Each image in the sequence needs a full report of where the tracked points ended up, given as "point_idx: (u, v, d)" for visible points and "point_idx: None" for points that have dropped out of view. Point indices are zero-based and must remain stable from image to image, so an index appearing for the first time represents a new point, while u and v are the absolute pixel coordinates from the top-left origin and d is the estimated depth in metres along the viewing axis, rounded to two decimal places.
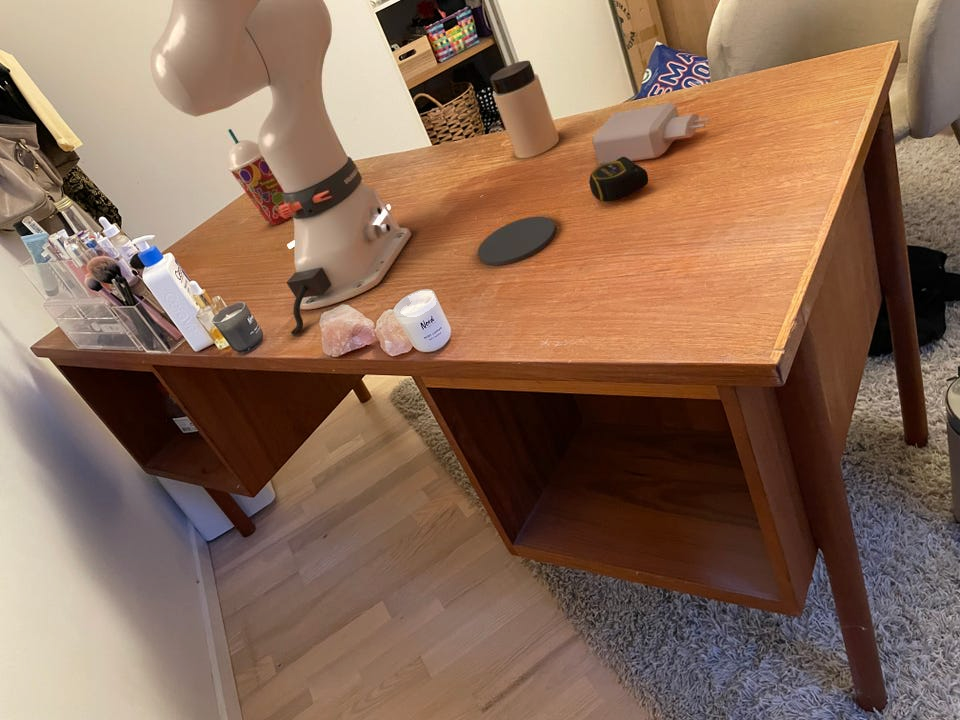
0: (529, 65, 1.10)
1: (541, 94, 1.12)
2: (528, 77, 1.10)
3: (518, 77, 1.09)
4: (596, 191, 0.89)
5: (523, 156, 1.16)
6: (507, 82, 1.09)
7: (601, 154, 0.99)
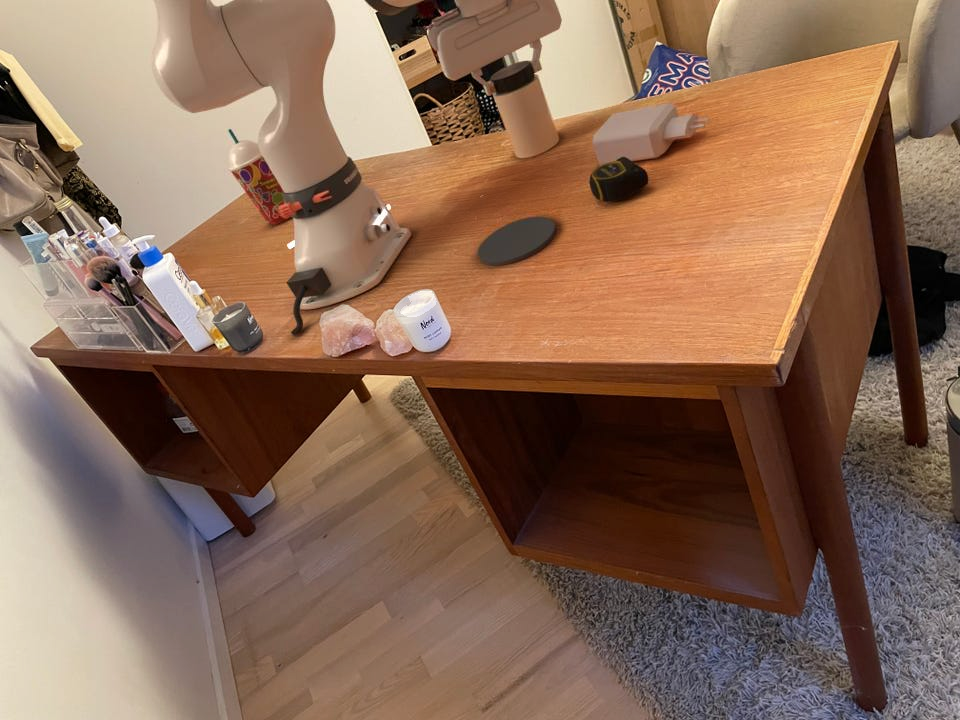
0: (529, 65, 1.10)
1: (541, 94, 1.12)
2: (528, 77, 1.10)
3: (518, 77, 1.09)
4: (596, 191, 0.89)
5: (523, 156, 1.16)
6: (507, 82, 1.09)
7: (601, 154, 0.99)
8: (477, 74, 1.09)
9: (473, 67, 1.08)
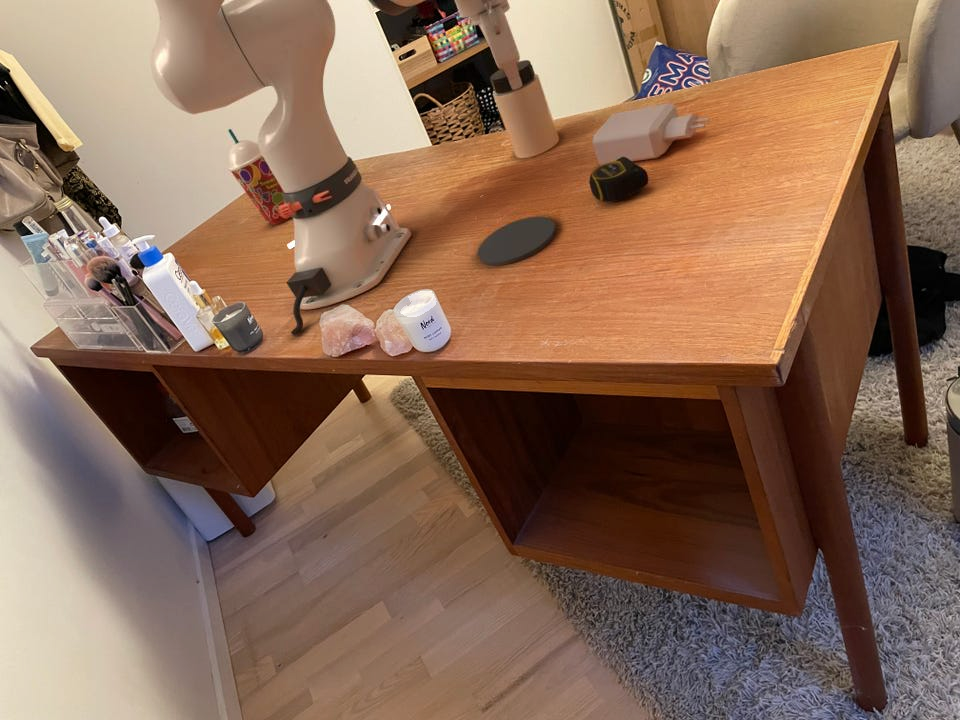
0: None
1: (541, 94, 1.12)
2: None
3: (531, 66, 1.11)
4: (596, 191, 0.89)
5: (523, 156, 1.16)
6: (530, 69, 1.10)
7: (601, 154, 0.99)
8: (515, 62, 1.06)
9: None
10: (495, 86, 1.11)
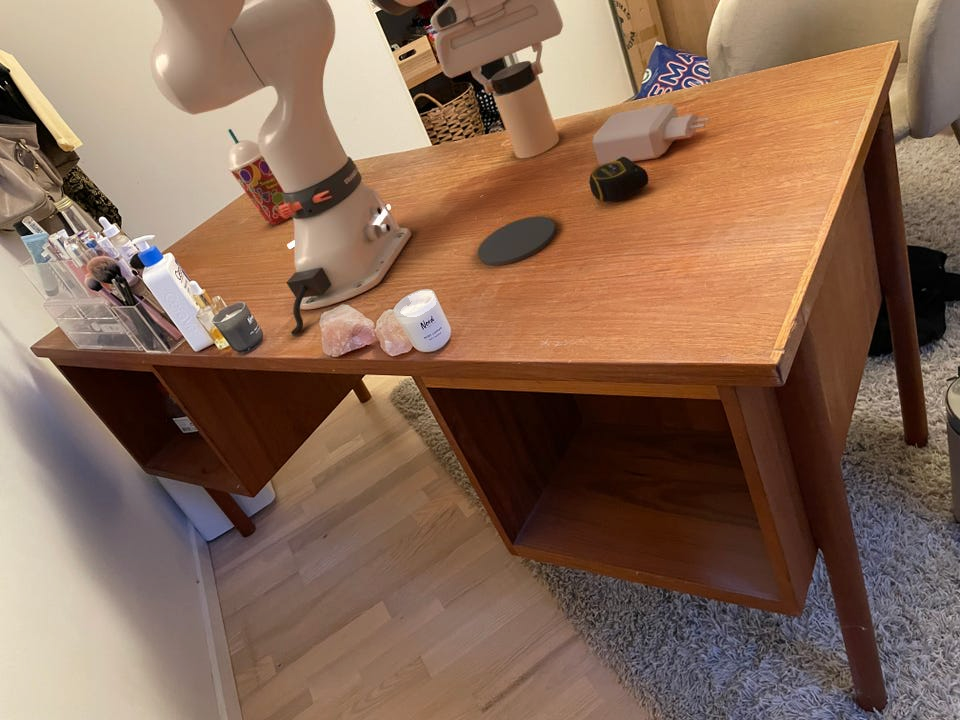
0: None
1: (541, 94, 1.12)
2: None
3: None
4: (596, 191, 0.89)
5: (523, 156, 1.16)
6: None
7: (601, 155, 0.99)
8: None
9: None
10: (520, 79, 1.09)
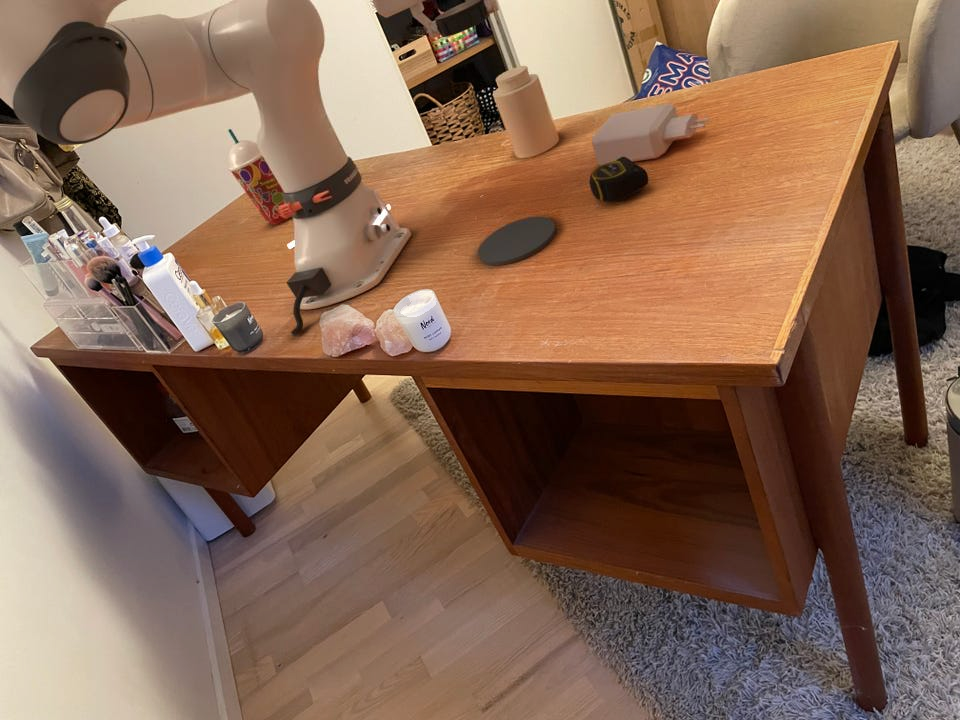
0: (442, 15, 0.93)
1: (541, 94, 1.12)
2: None
3: None
4: (596, 191, 0.89)
5: (523, 156, 1.16)
6: None
7: (601, 155, 0.99)
8: None
9: None
10: (471, 16, 0.88)
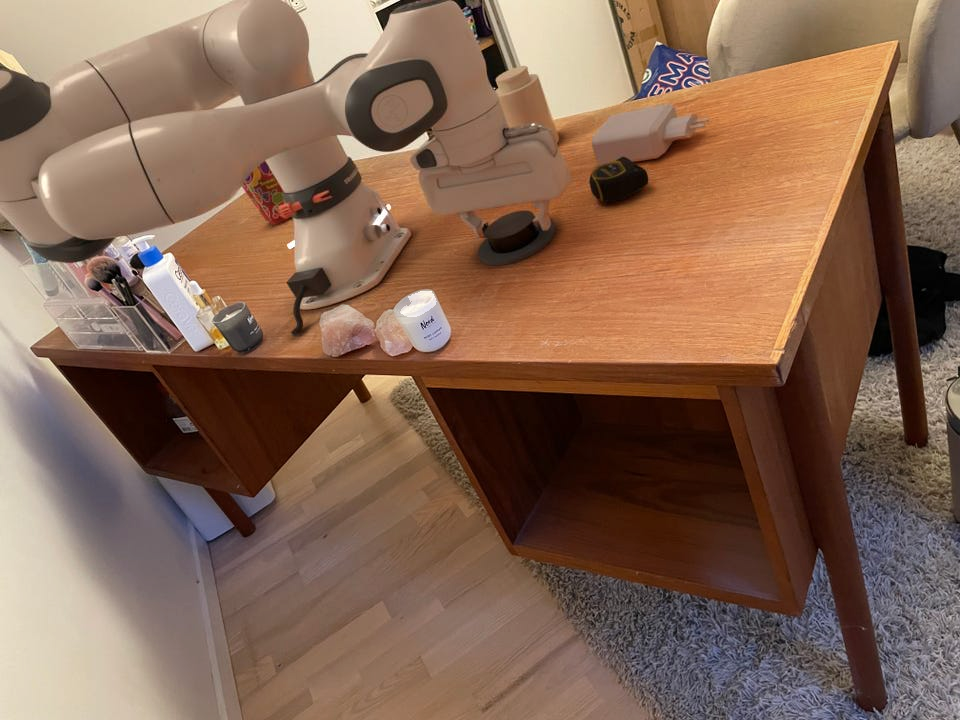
0: None
1: (541, 94, 1.12)
2: None
3: None
4: (596, 191, 0.89)
5: None
6: None
7: (600, 155, 0.99)
8: None
9: None
10: (512, 243, 0.88)
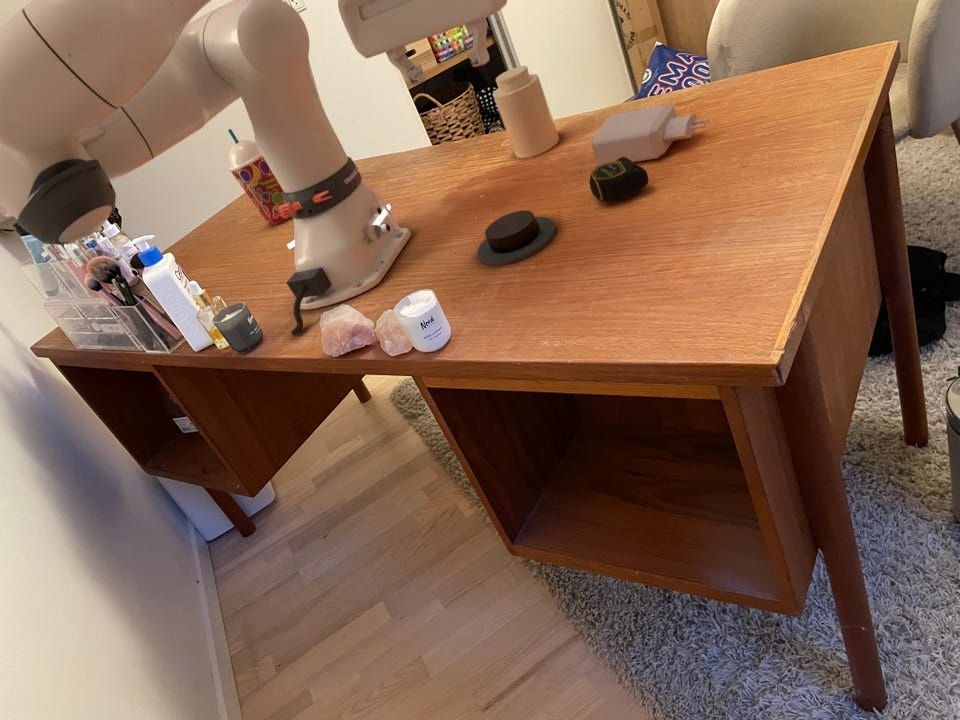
0: None
1: (541, 94, 1.12)
2: None
3: None
4: (596, 191, 0.89)
5: (523, 156, 1.16)
6: None
7: (600, 156, 0.99)
8: None
9: None
10: (512, 243, 0.88)
